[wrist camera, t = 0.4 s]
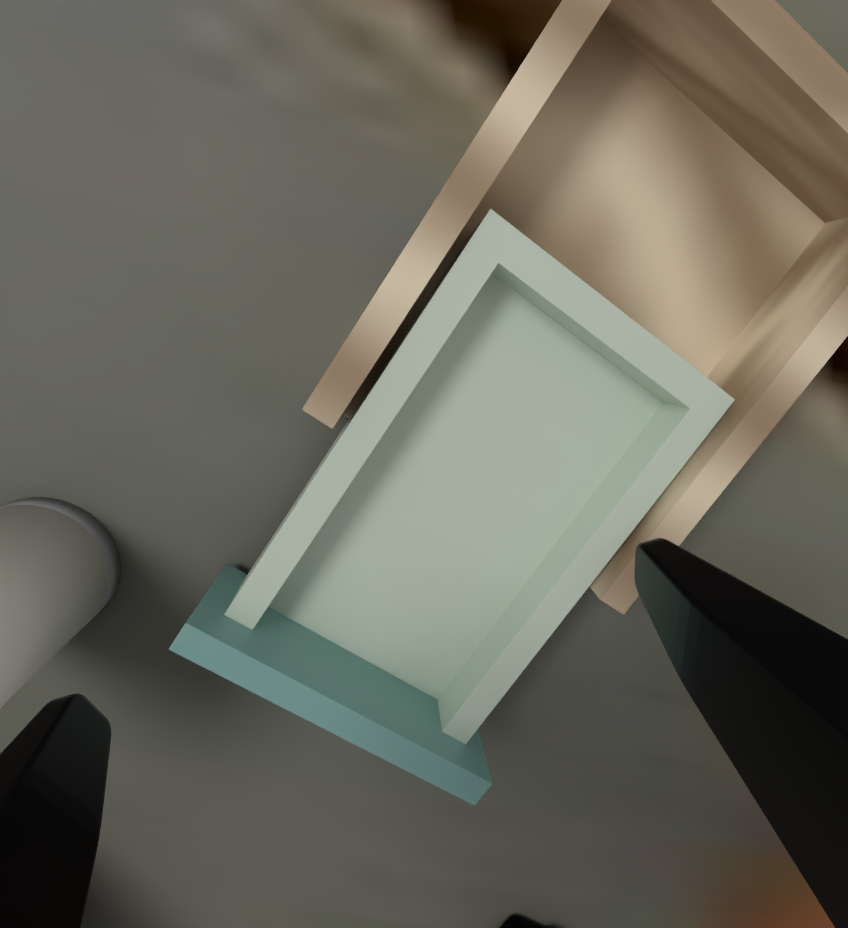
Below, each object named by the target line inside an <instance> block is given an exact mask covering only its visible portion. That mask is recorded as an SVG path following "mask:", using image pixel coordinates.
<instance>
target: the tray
mask: <svg viewBox="0 0 848 928" xmlns="http://www.w3.org/2000/svg"><path fill="white" fill-rule="evenodd" d="M734 400H735V399H734V398H732V397H731V396H730V395H729V394H727V393H726V392H725V391H723V390H722V389H721V388H720V387H718V386H717V385H716V384H714V383H713V382H712V381H711V380H709V379H708V378H707V377H705V376H704V375H703V374H702V373H700V372H699V371H698V370H697V369H695V368H694V367H693V366H691V365H690V364H689V363H688V362H686V361H685V360H684V359H682V358H681V357H680V356H679V355H677V354H676V353H675V352H673V351H672V350H671V349H670V348H668V347H667V346H666V345H665V344H663V343H662V342H661V341H659V340H658V339H657V338H656V337H654V336H653V335H652V334H650V333H649V332H648V331H647V330H645V329H644V328H643V327H642V326H640V325H639V324H638V323H636V322H635V321H634V320H633V319H631V318H630V317H629V316H627V315H626V314H625V313H624V312H622V311H621V310H620V309H618V308H617V307H616V306H615V305H613V304H612V303H611V302H610V301H608V300H607V299H606V298H604V297H603V296H602V295H601V294H599V293H598V292H597V291H595V290H594V289H593V288H592V287H590V286H589V285H588V284H586V283H585V282H584V281H583V280H581V279H580V278H579V277H578V276H576V275H575V274H574V273H572V272H571V271H570V270H569V269H567V268H566V267H565V266H563V265H562V264H561V263H560V262H558V261H557V260H556V259H555V258H553V257H552V256H551V255H549V254H548V253H547V252H546V251H544V250H543V249H542V248H540V247H539V246H538V245H537V244H535V243H534V242H533V241H531V240H530V239H529V238H528V237H526V236H525V235H524V234H523V233H521V232H520V231H519V230H517V229H516V228H515V227H514V226H512V225H511V224H510V223H508V222H507V221H506V220H505V219H503V218H502V217H501V216H499V215H498V214H497V213H496V212H494V211H493V210H492V209H490V210H489V211H488V212H487V213H486V215H485V216H484V217H483V218H482V219H481V220H480V222H479V223H478V224H477V225H476V226H475V228H474V229H473V231H472V232H471V234H470V236H469V237H468V239H467V240H466V242H465V243H464V245H463V246H462V248H461V249H460V251H459V252H458V254H457V255H456V257H455V258H454V260H453V261H452V263H451V265H450V266H449V268H448V269H447V271H446V272H445V274H444V275H443V277H442V278H441V280H440V281H439V283H438V284H437V286H436V287H435V289H434V290H433V292H432V294H431V295H430V297H429V298H428V300H427V301H426V303H425V304H424V306H423V307H422V309H421V310H420V312H419V313H418V315H417V316H416V318H415V319H414V321H413V323H412V324H411V326H410V327H409V329H408V330H407V332H406V333H405V335H404V336H403V338H402V339H401V341H400V342H399V344H398V345H397V347H396V349H395V350H394V352H393V353H392V355H391V356H390V358H389V359H388V361H387V362H386V364H385V365H384V367H383V368H382V370H381V371H380V373H379V374H378V376H377V378H376V379H375V381H374V382H373V384H372V385H371V387H370V388H369V390H368V391H367V393H366V394H365V396H364V397H363V399H362V400H361V402H360V403H359V405H358V407H357V408H356V410H355V411H354V413H353V414H352V416H351V417H350V419H349V420H348V422H347V423H346V425H345V426H344V428H343V429H342V431H341V432H340V434H339V436H338V437H337V439H336V440H335V442H334V443H333V445H332V446H331V448H330V449H329V451H328V452H327V454H326V455H325V457H324V458H323V460H322V462H321V463H320V465H319V466H318V468H317V469H316V471H315V472H314V474H313V475H312V477H311V478H310V480H309V481H308V483H307V484H306V486H305V487H304V489H303V491H302V492H301V494H300V495H299V497H298V498H297V500H296V501H295V503H294V504H293V506H292V507H291V509H290V510H289V512H288V513H287V515H286V516H285V518H284V520H283V521H282V523H281V524H280V526H279V527H278V529H277V530H276V532H275V533H274V535H273V536H272V538H271V539H270V541H269V542H268V544H267V546H266V547H265V549H264V550H263V552H262V553H261V555H260V556H259V558H258V559H257V561H256V562H255V564H254V565H253V567H252V568H251V570H250V571H249V573H248V575H247V574H246V573H244V572H242V571H240V570H238V569H237V568H235V567H233V566H231V565H229V564H228V563H226V565H225V566H224V568H223V569H222V571H221V572H220V574H219V575H218V576H217V578H216V579H215V581H214V582H213V584H212V585H211V587H210V588H209V589H208V591H207V592H206V594H205V595H204V597H203V598H202V600H201V601H200V603H199V604H198V605H197V607H196V608H195V610H194V611H193V613H192V614H191V616H190V617H189V618H188V620H187V621H186V623H185V624H184V626H183V627H182V629H181V631H180V632H179V634H178V635H177V637H176V638H175V640H174V641H173V643H172V645H171V646H170V648H169V650H171V651H173V652H175V653H177V654H178V655H180V656H182V657H184V658H186V659H188V660H190V661H192V662H194V663H196V664H198V665H200V666H202V667H204V668H206V669H208V670H210V671H212V672H214V673H216V674H218V675H220V676H222V677H223V678H225V679H227V680H229V681H231V682H233V683H235V684H237V685H239V686H241V687H243V688H245V689H247V690H249V691H251V692H253V693H255V694H257V695H259V696H261V697H263V698H265V699H267V700H269V701H270V702H272V703H274V704H276V705H278V706H280V707H282V708H284V709H286V710H288V711H290V712H292V713H294V714H296V715H298V716H300V717H302V718H304V719H306V720H308V721H310V722H312V723H314V724H315V725H317V726H319V727H321V728H323V729H325V730H327V731H329V732H331V733H333V734H335V735H337V736H339V737H341V738H343V739H345V740H347V741H349V742H351V743H353V744H355V745H357V746H359V747H360V748H362V749H364V750H366V751H368V752H370V753H372V754H374V755H376V756H378V757H380V758H382V759H384V760H386V761H388V762H390V763H392V764H394V765H396V766H398V767H400V768H402V769H404V770H405V771H407V772H409V773H411V774H413V775H415V776H417V777H419V778H421V779H423V780H425V781H427V782H429V783H431V784H433V785H435V786H437V787H439V788H441V789H443V790H445V791H447V792H449V793H450V794H452V795H454V796H456V797H458V798H460V799H462V800H464V801H466V802H468V803H470V804H472V805H474V806H475V804H476V803H477V802H478V801H479V800H480V798H481V797H482V796H483V795H484V793H485V792H486V791H487V790H488V788H489V787H490V786H491V785H492V781H491V777H490V773H489V769H488V765H487V761H486V757H485V752H484V748H483V744H482V740H481V736H480V732H479V727H480V725H481V724H482V723H483V722H484V720H485V719H486V718H487V716H488V715H489V714H490V713H491V711H492V710H493V709H494V707H495V706H496V705H497V704H498V702H499V701H500V700H501V698H502V697H503V696H504V695H505V693H506V692H507V691H508V690H509V688H510V687H511V686H512V684H513V683H514V682H515V681H516V679H517V678H518V677H519V675H520V674H521V673H522V672H523V670H524V669H525V668H526V667H527V665H528V664H529V663H530V661H531V660H532V659H533V658H534V656H535V655H536V654H537V652H538V651H539V650H540V649H541V647H542V646H543V645H544V643H545V642H546V641H547V640H548V638H549V637H550V636H551V635H552V633H553V632H554V631H555V629H556V628H557V627H558V626H559V624H560V623H561V622H562V620H563V619H564V618H565V617H566V615H567V614H568V613H569V612H570V610H571V609H572V608H573V606H574V605H575V604H576V603H577V601H578V600H579V599H580V597H581V596H582V595H583V594H584V592H585V591H586V590H587V588H588V587H589V586H590V585H591V583H592V582H593V581H594V580H595V578H596V577H597V576H598V574H599V573H600V572H601V571H602V569H603V568H604V567H605V565H606V564H607V563H608V562H609V560H610V559H611V558H612V556H613V555H614V554H615V553H616V551H617V550H618V549H619V548H620V546H621V545H622V544H623V542H624V541H625V540H626V539H627V537H628V536H629V535H630V533H631V532H632V531H633V530H634V528H635V527H636V526H637V525H638V523H639V522H640V521H641V519H642V518H643V517H644V516H645V514H646V513H647V512H648V510H649V509H650V508H651V507H652V505H653V504H654V503H655V501H656V500H657V499H658V498H659V496H660V495H661V494H662V493H663V491H664V490H665V489H666V487H667V486H668V485H669V484H670V482H671V481H672V480H673V478H674V477H675V476H676V475H677V473H678V472H679V471H680V470H681V468H682V467H683V466H684V464H685V463H686V462H687V461H688V459H689V458H690V457H691V455H692V454H693V453H694V452H695V450H696V449H697V448H698V446H699V445H700V444H701V443H702V441H703V440H704V439H705V438H706V436H707V435H708V434H709V432H710V431H711V430H712V429H713V427H714V426H715V425H716V423H717V422H718V421H719V420H720V418H721V417H722V416H723V415H724V413H725V412H726V411H727V409H728V408H729V407H730V406H731V404H732V403H733V402H734Z"/></svg>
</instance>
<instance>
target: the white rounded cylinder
mask: <svg viewBox="0 0 848 928" xmlns="http://www.w3.org/2000/svg"><path fill="white" fill-rule="evenodd" d="M119 579H120V559H119V555H118V551H117V548H116V546H115V543H114V541H113V539H112V538H111V536H110V534H109V533H108V532H107V530H106V529H105V528H104V527H103V525H102V524H101V523H100V522H99V521H98V520H97V519H95V518H94V517H93V516H92V515H90V514H89V513H88V512H86V511H84V510H83V509H81V508H79V507H77V506H75V505H73V504H71V503H68V502H65V501H62V500H57V499H53V498H44V497H32V498H25V499H20V500H17V501H13V502H11V503H9V504H6V505H4V506H2V507H0V708H1V707H2V706H3V705H4V704H5V703H6V702H7V701H8V700H9V699H10V698H11V697H12V696H13V695H14V694H15V693H16V692H17V691H18V690H19V689H20V688H21V687H23V686H24V685H25V684H26V683H27V682H28V681H29V680H30V679H31V678H32V677H33V676H34V675H35V674H36V673H37V672H38V671H39V670H40V669H41V668H42V667H43V666H44V665H45V664H46V663H47V662H48V661H49V660H50V659H51V658H52V657H53V656H55V655H56V654H57V653H58V652H59V651H60V650H61V649H62V648H63V647H64V646H65V645H66V644H67V643H68V642H69V641H70V640H71V639H72V638H73V637H74V636H75V635H76V634H77V633H78V632H79V631H80V630H81V629H82V628H83V627H84V626H85V625H86V624H88V623H89V622H90V621H91V620H92V619H93V618H94V617H95V616H96V615H97V614H98V613H99V612H100V611H101V610H102V609H103V608H104V607H105V606H106V605H107V604H108V603H109V601H110V600H111V599H112V597H113V595H114V593H115V591H116V589H117V586H118V583H119Z"/></svg>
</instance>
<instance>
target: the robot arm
mask: <svg viewBox="0 0 848 928" xmlns="http://www.w3.org/2000/svg"><path fill="white" fill-rule="evenodd" d="M634 581H635V585H636V589H637V591H638V594H639V596H640V598H641V600H642V602H643V604H644V606H645V608H646V610H647V612H648V614H649V616H650V618H651V620H652V622H653V625H654V627H655V629H656V631H657V633H658V635H659V637H660V639H661V641H662V643H663V645H664V647H665V649H666V651H667V653H668V655H669V658H670V660H671V662H672V664H673V666H674V668H675V670H676V672H677V674H678V676H679V677H680V679H681V681H682V683H683V684H684V686H685V688H686V690H687V691H688V693H689V695H690V696H691V698H692V699H693V701H694V703H695V704H696V706H697V707H698V709H699V711H700V712H701V714H702V715H703V717H704V719H705V720H706V722H707V723H708V725H709V727H710V728H711V730H712V731H713V733H714V735H715V736H716V738H717V739H718V741H719V743H720V744H721V746H722V747H723V749H724V751H725V752H726V754H727V755H728V757H729V759H730V760H731V762H732V763H733V765H734V767H735V768H736V770H737V771H738V773H739V775H740V776H741V778H742V779H743V781H744V783H745V784H746V786H747V787H748V789H749V791H750V792H751V794H752V795H753V797H754V799H755V800H756V802H757V803H758V805H759V807H760V808H761V810H762V811H763V813H764V815H765V816H766V818H767V819H768V821H769V823H770V824H771V826H772V827H773V829H774V831H775V832H776V834H777V835H778V837H779V839H780V840H781V842H782V843H783V845H784V847H785V848H786V850H787V851H788V853H789V855H790V856H791V858H792V859H793V861H794V863H795V864H796V866H797V867H798V869H799V871H800V872H801V874H802V875H803V877H804V879H805V880H806V882H807V883H808V885H809V887H810V888H811V890H812V891H813V893H814V895H815V896H816V898H817V899H818V901H819V903H820V904H821V906H822V907H823V909H824V911H825V912H826V914H827V915H828V917H829V919H830V920H831V922H832V923H833V925H834V927H835V928H848V639H846V638H844V637H842V636H841V635H839V634H837V633H835V632H833V631H832V630H830V629H828V628H826V627H824V626H823V625H821V624H819V623H817V622H815V621H814V620H812V619H810V618H808V617H806V616H804V615H803V614H801V613H799V612H797V611H795V610H794V609H792V608H790V607H788V606H786V605H785V604H783V603H781V602H779V601H777V600H775V599H774V598H772V597H770V596H768V595H766V594H765V593H763V592H761V591H759V590H757V589H756V588H754V587H752V586H750V585H748V584H747V583H745V582H743V581H741V580H739V579H737V578H736V577H734V576H732V575H730V574H728V573H727V572H725V571H723V570H721V569H719V568H718V567H716V566H714V565H712V564H710V563H709V562H707V561H705V560H703V559H701V558H699V557H698V556H696V555H694V554H692V553H690V552H689V551H687V550H685V549H683V548H681V547H680V546H678V545H676V544H674V543H672V542H670V541H669V540H667V539H664V538H656V539H652V540H648V541H644V542H641V543H639V544H637V546H636V549H635V568H634ZM110 742H111V726H110V723H109V721H108V719H107V718H106V717H105V716H104V715H103V714H102V713H101V712H100V711H99V710H98V709H97V708H96V707H95V706H94V705H93V704H92V703H91V702H90V701H89V700H88V699H87V698H86V697H85V696H83V695H81V694H72V695H68V696H64V697H61V698H57V699H54V700H52V701H50V702H49V703H47V704H46V705H45V706H44V707H43V708H42V709H41V710H40V711H39V713H38V714H37V715H36V716H35V717H34V718H33V719H32V720H31V721H30V722H29V723H28V724H27V726H26V727H25V728H24V729H23V730H22V731H21V732H20V733H19V734H18V735H17V736H16V738H15V739H14V740H13V741H12V742H11V743H10V744H9V745H8V746H7V747H6V748H5V749H4V751H3V752H2V753H1V754H0V928H80V927H81V922H82V918H83V913H84V908H85V903H86V899H87V894H88V889H89V885H90V880H91V875H92V871H93V866H94V861H95V856H96V851H97V846H98V841H99V835H100V828H101V821H102V813H103V804H104V795H105V786H106V778H107V769H108V760H109V751H110ZM501 928H542V927H540V926H538V925H536V924H534V923H531V922H529V921H527V920H525V919H523V918H521V917H518V916H513V917H511V918H509V919H508V920H507V921H506V922H505V923H504V925H503V926H502V927H501Z"/></svg>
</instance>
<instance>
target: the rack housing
mask: <svg viewBox="0 0 848 928" xmlns="http://www.w3.org/2000/svg"><path fill="white" fill-rule="evenodd" d="M490 209H492V210H493V211H494V212H496V213H497V214H498V215H499V216H501V217H502V218H503V219H505V220H506V221H507V222H508V223H510V224H511V225H512V226H514V227H515V228H516V229H517V230H519V231H520V232H521V233H523V234H524V235H525V236H526V237H528V238H529V239H530V240H531V241H533V242H534V243H535V244H537V245H538V246H539V247H540V248H542V249H543V250H544V251H546V252H547V253H548V254H549V255H551V256H552V257H553V258H555V259H556V260H557V261H558V262H560V263H561V264H562V265H563V266H565V267H566V268H567V269H569V270H570V271H571V272H572V273H574V274H575V275H576V276H578V277H579V278H580V279H581V280H583V281H584V282H585V283H586V284H588V285H589V286H590V287H592V288H593V289H594V290H595V291H597V292H598V293H599V294H601V295H602V296H603V297H604V298H606V299H607V300H608V301H610V302H611V303H612V304H613V305H615V306H616V307H617V308H618V309H620V310H621V311H622V312H624V313H625V314H626V315H627V316H629V317H630V318H631V319H633V320H634V321H635V322H636V323H638V324H639V325H640V326H642V327H643V328H644V329H645V330H647V331H648V332H649V333H650V334H652V335H653V336H654V337H656V338H657V339H658V340H659V341H661V342H662V343H663V344H665V345H666V346H667V347H668V348H670V349H671V350H672V351H673V352H675V353H676V354H677V355H679V356H680V357H681V358H682V359H684V360H685V361H686V362H688V363H689V364H690V365H691V366H693V367H694V368H695V369H697V370H698V371H699V372H700V373H702V374H703V375H704V376H705V377H707V378H708V379H709V380H711V381H712V382H713V383H714V384H716V385H717V386H718V387H720V388H721V389H722V390H723V391H725V392H726V393H727V394H729V395H730V396H731V397H732V398H734V399H735V400H734V402H733V403H732V404H731V406H730V407H729V408H728V409H727V411H726V412H725V413H724V415H723V416H722V417H721V418H720V420H719V421H718V422H717V423H716V425H715V426H714V427H713V429H712V430H711V431H710V432H709V434H708V435H707V436H706V438H705V439H704V440H703V441H702V443H701V444H700V445H699V446H698V448H697V449H696V450H695V452H694V453H693V454H692V455H691V457H690V458H689V459H688V461H687V462H686V463H685V464H684V466H683V467H682V468H681V470H680V471H679V472H678V473H677V475H676V476H675V477H674V478H673V480H672V481H671V482H670V484H669V485H668V486H667V487H666V489H665V490H664V491H663V493H662V494H661V495H660V496H659V498H658V499H657V500H656V501H655V503H654V504H653V505H652V507H651V508H650V509H649V510H648V512H647V513H646V514H645V516H644V517H643V518H642V519H641V521H640V522H639V523H638V525H637V526H636V527H635V528H634V530H633V531H632V532H631V533H630V535H629V536H628V537H627V539H626V540H625V541H624V542H623V544H622V545H621V546H620V548H619V549H618V550H617V551H616V553H615V554H614V555H613V556H612V558H611V559H610V560H609V562H608V563H607V564H606V565H605V567H604V568H603V569H602V571H601V572H600V573H599V574H598V576H597V577H596V578H595V580H594V581H593V582H592V583H591V585H590V586H589V587H590V588H591V589H592V590H593V592H594V593H595V594H596V595H597V597H598V598H599V599H600V600H601V601H603V602H605V603H606V604H608V605H609V606H611V607H612V608H614V609H615V610H617V611H619V612H620V613H622V614H623V615H624V614H625V612H626V611H627V610H628V609H629V607H630V606H631V605H632V604H633V603H634V601H635V600H636V599H637V598H638V596H639V594H638V591H637V589H636V585H635V581H634V568H635V549H636V546H637V544H639V543H641V542H644V541H648V540H652V539H656V538H664V539H667V540H669V541H670V542H672V543H674V544H676V545H678V546H679V545H680V544H681V543H682V541H683V540H684V539H685V538H686V536H687V535H688V534H689V533H690V531H691V530H692V529H693V528H694V527H695V525H696V524H697V523H698V522H699V520H700V519H701V518H702V517H703V515H704V514H705V513H706V512H707V510H708V509H709V508H710V507H711V505H712V504H713V503H714V502H715V500H716V499H717V498H718V497H719V495H720V494H721V493H722V492H723V490H724V489H725V488H726V487H727V485H728V484H729V483H730V482H731V480H732V479H733V478H734V477H735V475H736V474H737V473H738V472H739V470H740V469H741V468H742V467H743V465H744V464H745V463H746V462H747V460H748V459H749V458H750V457H751V455H752V454H753V453H754V452H755V450H756V449H757V448H758V447H759V446H760V444H761V443H762V442H763V441H764V439H765V438H766V437H767V436H768V434H769V433H770V432H771V431H772V429H773V428H774V427H775V426H776V424H777V423H778V422H779V421H780V419H781V418H782V417H783V416H784V414H785V413H786V412H787V411H788V409H789V408H790V407H791V406H792V404H793V403H794V402H795V401H796V399H797V398H798V397H799V396H800V394H801V393H802V392H803V391H804V389H805V388H806V387H807V386H808V384H809V383H810V382H811V381H812V379H813V378H814V377H815V376H816V374H817V373H818V372H819V371H820V370H821V368H822V367H823V366H824V365H825V363H826V362H827V361H828V360H829V358H830V357H831V356H832V355H833V353H834V352H835V351H836V350H837V348H838V347H839V346H840V345H841V343H842V342H843V341H844V340H845V338H846V337H847V336H848V73H847V72H846V71H845V70H844V69H843V68H842V67H841V66H840V65H839V64H838V63H837V62H836V61H835V60H834V59H833V58H832V57H831V56H830V55H829V54H828V53H827V52H826V51H825V50H824V49H823V48H822V47H821V46H820V45H819V44H818V43H817V42H816V41H815V40H814V39H813V38H812V37H811V36H810V35H809V34H808V33H807V32H806V31H805V30H804V29H803V28H802V27H801V26H800V25H799V24H798V23H797V22H796V21H795V20H794V19H793V18H792V17H791V16H790V15H789V14H788V13H787V12H786V11H785V10H784V9H783V8H782V7H781V6H780V5H779V4H778V3H777V2H776V1H775V0H562V2H561V3H560V5H559V6H558V8H557V9H556V11H555V13H554V14H553V16H552V17H551V19H550V20H549V22H548V24H547V25H546V27H545V28H544V30H543V31H542V33H541V35H540V36H539V38H538V39H537V41H536V42H535V44H534V46H533V47H532V49H531V50H530V52H529V53H528V55H527V57H526V58H525V60H524V61H523V63H522V64H521V66H520V68H519V69H518V71H517V72H516V74H515V75H514V77H513V79H512V80H511V82H510V83H509V85H508V86H507V88H506V90H505V91H504V93H503V94H502V96H501V97H500V99H499V101H498V102H497V104H496V105H495V107H494V108H493V110H492V112H491V113H490V115H489V116H488V118H487V119H486V121H485V123H484V124H483V126H482V127H481V129H480V130H479V132H478V134H477V135H476V137H475V138H474V140H473V141H472V143H471V144H470V146H469V148H468V149H467V151H466V152H465V154H464V155H463V157H462V159H461V160H460V162H459V163H458V165H457V166H456V168H455V170H454V171H453V173H452V174H451V176H450V177H449V179H448V181H447V182H446V184H445V185H444V187H443V188H442V190H441V192H440V193H439V195H438V196H437V198H436V199H435V201H434V203H433V204H432V206H431V207H430V209H429V210H428V212H427V214H426V215H425V217H424V218H423V220H422V221H421V223H420V225H419V226H418V228H417V229H416V231H415V232H414V234H413V236H412V237H411V239H410V240H409V242H408V243H407V245H406V247H405V248H404V250H403V251H402V253H401V254H400V256H399V258H398V259H397V261H396V262H395V264H394V265H393V267H392V269H391V270H390V272H389V273H388V275H387V276H386V278H385V280H384V281H383V283H382V284H381V286H380V287H379V289H378V291H377V292H376V294H375V295H374V297H373V298H372V300H371V302H370V303H369V305H368V306H367V308H366V309H365V311H364V313H363V314H362V316H361V317H360V319H359V320H358V322H357V324H356V325H355V327H354V328H353V330H352V331H351V333H350V335H349V336H348V338H347V339H346V341H345V342H344V344H343V346H342V347H341V349H340V350H339V352H338V353H337V355H336V357H335V358H334V360H333V361H332V363H331V364H330V366H329V368H328V369H327V371H326V372H325V374H324V375H323V377H322V379H321V380H320V382H319V383H318V385H317V386H316V388H315V390H314V391H313V393H312V394H311V396H310V397H309V399H308V401H307V402H306V404H305V405H304V407H303V408H302V410H304V411H305V412H307V413H308V414H310V415H311V416H313V417H315V418H316V419H318V420H319V421H321V422H322V423H324V424H326V425H327V426H329V427H330V428H332V429H333V427H334V426H335V424H336V423H337V421H338V420H339V418H340V416H341V415H342V414H343V415H344V416H346V417H347V418H349V419H350V417H351V416H352V414H353V413H354V411H355V410H356V408H357V407H358V405H359V403H360V402H361V400H362V399H363V397H364V396H365V394H366V393H367V391H368V390H369V388H370V387H371V385H372V384H373V382H374V381H375V379H376V378H377V376H378V374H379V373H380V371H381V370H382V368H383V367H384V365H385V364H386V362H387V361H388V359H389V358H390V356H391V355H392V353H393V352H394V350H395V349H396V347H397V345H398V344H399V342H400V341H401V339H402V338H403V336H404V335H405V333H406V332H407V330H408V329H409V327H410V326H411V324H412V323H413V321H414V319H415V318H416V316H417V315H418V313H419V312H420V310H421V309H422V307H423V306H424V304H425V303H426V301H427V300H428V298H429V297H430V295H431V294H432V292H433V290H434V289H435V287H436V286H437V284H438V283H439V281H440V280H441V278H442V277H443V275H444V274H445V272H446V271H447V269H448V268H449V266H450V265H451V263H452V261H453V260H454V258H455V257H456V255H457V254H458V252H459V251H460V249H461V248H462V246H463V245H464V243H465V242H466V240H467V239H468V237H469V236H470V234H471V232H472V231H473V229H474V228H475V226H476V225H477V224H478V223H479V222H480V220H481V219H482V218H483V217H484V216H485V215H486V213H487V212H488V211H489V210H490Z"/></svg>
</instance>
